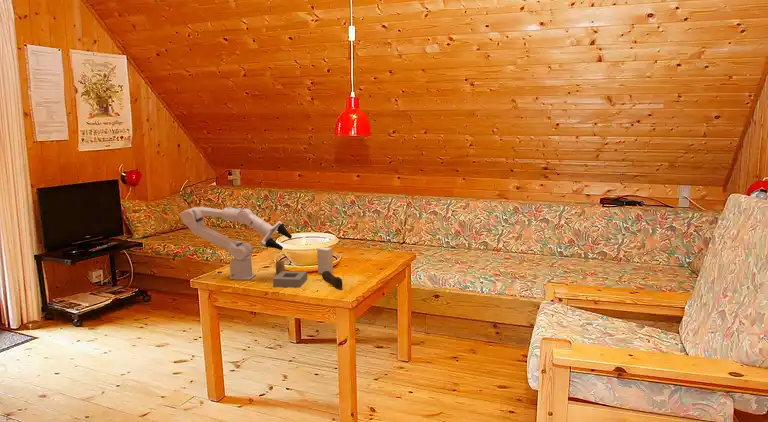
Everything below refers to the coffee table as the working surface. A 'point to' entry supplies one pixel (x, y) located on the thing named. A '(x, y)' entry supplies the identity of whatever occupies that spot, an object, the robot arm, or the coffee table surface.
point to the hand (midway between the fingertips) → (286, 243)
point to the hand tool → (332, 279)
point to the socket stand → (290, 279)
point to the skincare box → (325, 260)
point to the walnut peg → (279, 266)
